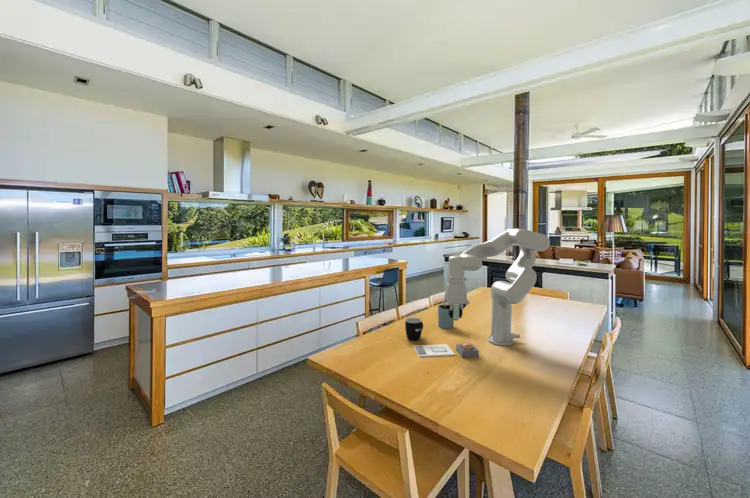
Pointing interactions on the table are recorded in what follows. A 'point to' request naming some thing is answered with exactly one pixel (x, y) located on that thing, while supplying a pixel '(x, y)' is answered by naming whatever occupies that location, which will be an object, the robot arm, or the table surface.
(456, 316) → the marker
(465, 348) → the button
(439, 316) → the blue-gray cup
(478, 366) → the table surface
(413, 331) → the mug
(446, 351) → the picture board
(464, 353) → the button housing
